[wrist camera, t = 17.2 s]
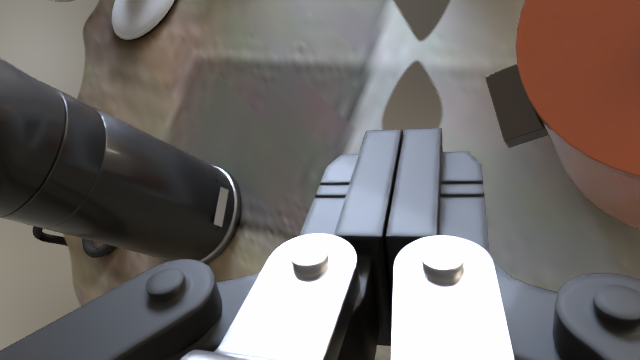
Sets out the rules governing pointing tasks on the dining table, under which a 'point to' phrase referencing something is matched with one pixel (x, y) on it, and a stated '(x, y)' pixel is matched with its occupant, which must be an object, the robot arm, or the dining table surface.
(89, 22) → the dining table surface
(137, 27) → the chalice
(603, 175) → the pot
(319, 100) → the dining table surface
